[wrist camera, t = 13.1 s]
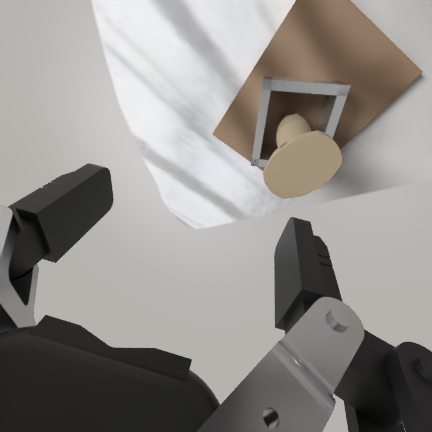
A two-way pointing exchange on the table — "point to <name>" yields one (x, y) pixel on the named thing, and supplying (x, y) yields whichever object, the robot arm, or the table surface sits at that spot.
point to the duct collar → (330, 88)
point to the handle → (300, 159)
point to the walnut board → (319, 73)
